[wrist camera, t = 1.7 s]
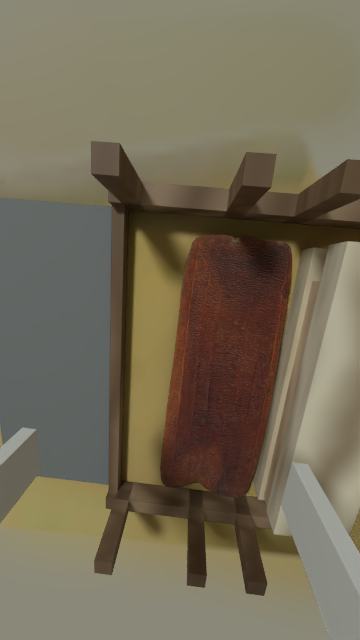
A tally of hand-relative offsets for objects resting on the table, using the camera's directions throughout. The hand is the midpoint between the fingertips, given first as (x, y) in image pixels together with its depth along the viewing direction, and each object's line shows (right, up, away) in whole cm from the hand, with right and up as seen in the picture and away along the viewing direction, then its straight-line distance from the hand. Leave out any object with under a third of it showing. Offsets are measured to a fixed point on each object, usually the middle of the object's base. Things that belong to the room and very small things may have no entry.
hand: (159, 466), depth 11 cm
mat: (-12, +4, +11) cm, 16 cm away
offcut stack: (+14, +1, +10) cm, 17 cm away
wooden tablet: (0, +2, +10) cm, 11 cm away
